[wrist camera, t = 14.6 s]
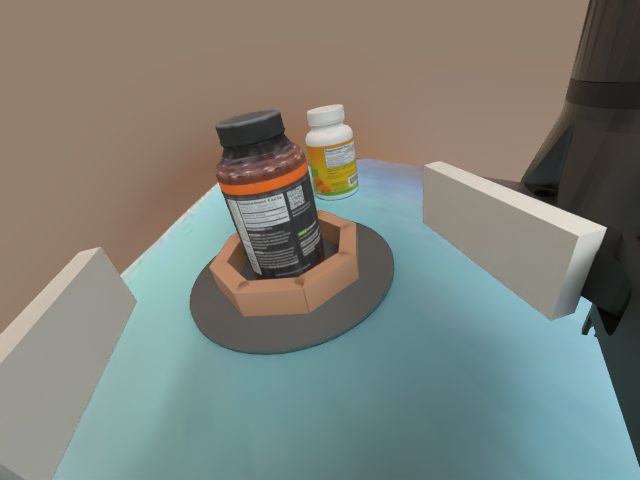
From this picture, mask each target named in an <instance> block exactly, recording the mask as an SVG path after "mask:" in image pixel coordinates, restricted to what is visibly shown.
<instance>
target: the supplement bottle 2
mask: <svg viewBox="0 0 640 480" xmlns="http://www.w3.org/2000/svg"><path fill="white" fill-rule="evenodd" d="M307 117H308V122H309V126H311V128H312V130H311V131H310V132H309V133H308V134H307V136H306V146H307V151H308V156H309V161H310V167H311V172H312V177H313V183H314V188H315V193H316V195H317V196H318V197H319V198H321V199H325V200H338V199H343V198H346V197H348V196H351V195H352V194H354V193H355V192H356V191H357V190H358V177H357V168H356V159H355V150H354V141H353V134H352V130H351V128H350V127H349V126H347V125H344V124H343V120H344V110H343V105H329V106H324V107H319V108H315V109H312V110H310V111H308V112H307Z"/></svg>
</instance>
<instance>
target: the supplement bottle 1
mask: <svg viewBox="0 0 640 480" xmlns="http://www.w3.org/2000/svg"><path fill="white" fill-rule="evenodd" d="M216 130H217V133H218V136H219V139H220V144H221V146H223V148H224V150H223V154H222V158H221V161H220V162H219V163H218V165H217V168H216V177H217V179H218V182H219V185H220V187H221V191H222V194H223V196H224V198H225V201H226V204H227V207H228V209H229V211H230V214H231V217H232V220H233V222H234V225H235V227H236V230H237V233H238V235H239V238H240V241H241V243H242V246H243V248H244V255H245V254H246V256H247V259H248V262H249V264H250V267H251V269H252V271H253V274H254V276H255V277H256V278H257V279H258V280H267V279H281V278H295V277H300V276H301V275H303V274H304V273H306V272H308V271H309V270H311V269H312V268H314V267H316V266H317V265H319V264H321V263H322V262H324V259H325V251H324V244H323V239H322V234H321V230H320V225H319V220H318V215H317V210H316V205H315V201H314V196H313V191H312V186H311V181H310V176H309V171H308V167H307V162H306V159H305V155H304V152H303V150H302V149H301V148H300V147H299V146H298V145H297V144H295V143H292V142H291V141H290V140H289V139H288V138H287V137H286V136H285V135H284V131H285V128H284V126H283V122H282V118H281V114H280V112H279V111H278V110H263V111H258V112H253V113H248V114H243V115H239V116H235V117H232V118H229V119H225V120H223V121H221V122H219V123H217V124H216Z"/></svg>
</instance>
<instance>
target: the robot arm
mask: <svg viewBox="0 0 640 480" xmlns="http://www.w3.org/2000/svg"><path fill="white" fill-rule="evenodd" d="M423 222H424V223H425V224H426V225H427V226H429V227H430V228H431V229H433V230H434V231H435V232H437V233H438V234H439V235H440V236H442V237H443V238H444V239H446V240H447V241H448V242H449V243H451V244H452V245H453V246H455V247H456V248H457V249H458V250H460V251H461V252H462V253H464V254H465V255H466V256H468V257H469V258H470V259H471V260H473V261H474V262H475V263H477V264H478V265H479V266H480V267H482V268H483V269H484V270H486V271H487V272H488V273H490V274H491V275H492V276H493V277H495V278H496V279H497V280H499V281H500V282H501V283H502V284H504V285H505V286H506V287H508V288H509V289H510V290H512V291H513V292H514V293H515V294H517V295H518V296H519V297H521V298H522V299H523V300H524V301H526V302H527V303H528V304H530V305H531V306H532V307H533V308H535V309H536V310H537V311H539V312H540V313H541V314H543V315H544V316H545V317H546V318H548V319H549V320H550V321H552V320H555V319H558V318H561V317H564V316H566V315H569V314H572V313H574V312H575V310H576V307H577V305H578V302H579V299H580V297H581V296H582V297H584V298H586V299H587V300H589V301H590V302H592V306H591V308H590V311H589V313H588V315H587V318H586V320H585V322H584V325H583V327H582V334H583V335H587V334H588V331H589V329H590V328H591V327H593V326H594V329H595V332H596V333H595V335H594V337H597V338H598V341H599V344H600V348H601V351H602V354H603V357H604V360H605V363H606V366H607V369H608V372H609V375H610V378H611V381H612V384H613V387H614V390H615V393H616V396H617V399H618V402H619V406H620V409H621V412H622V415H623V418H624V421H625V424H626V427H627V430H628V433H629V436H630V439H631V442H632V445H633V448H634V451H635V454H636V457H637V461H638V464H639V467H640V0H590V1H589V5H588V9H587V13H586V17H585V21H584V25H583V29H582V33H581V37H580V41H579V45H578V49H577V53H576V57H575V61H574V65H573V69H572V73H571V78H570V83H569V87H568V90H567V94H566V98H565V102H564V106H563V109H562V112H561V114H560V116H559V118H558V119H557V121H556V123H555V124H554V126H553V128H552V129H551V131H550V133H549V135H548V136H547V138H546V139H545V141H544V143H543V144H542V146H541V148H540V149H539V151H538V153H537V154H536V156H535V158H534V159H533V161H532V163H531V164H530V166H529V168H528V169H527V171H526V173H525V174H524V176H523V177H522V180H521V182H520V185H519V190H518V192H516V191H514V190H511V189H509V188H506V187H504V186H501V185H499V184H496V183H494V182H491V181H489V180H486V179H484V178H481V177H479V176H476V175H474V174H471V173H469V172H466V171H463V170H461V169H459V168H456V167H454V166H451V165H449V164H446V163H444V162H441V161H438V162H434V163H431V164H426V165H424V182H423ZM136 302H137V301H136V299H135V298H134V296H133V295H132V293H131V292H130V290H129V289H128V287H127V286H126V284H125V283H124V281H123V280H122V278H121V277H120V275H119V274H118V272H117V270H116V269H115V267H114V266H113V264H112V263H111V261H110V260H109V258H108V257H107V256H106V254H105V252H104V251H103V249H102V248H101V247H98V248H94V249H90V250H86V251H82V252H79V253H78V254H77V255H76V256H75V257H74V258H73V259H72V260H71V261H70V262H69V263H68V264H67V265H66V266H65V267H64V268H63V270H62V271H61V272H60V273H59V274H58V275H57V276H56V277H55V278H54V279H53V280H52V281H51V282H50V283H49V284H48V285H47V286H46V287H45V288H44V290H42V292H41V293H40V294H39V295H38V296H37V297H36V298H35V299H34V300H33V301H32V302H31V303H30V304H29V305H28V306H27V307H26V308H25V309H24V310H23V312H21V314H20V315H19V316H18V317H17V318H16V319H15V320H14V321H13V322H12V323H11V324H10V325H9V326H8V327H7V328H6V329H5V330H4V331H3V332H2V333H1V334H0V480H52V478H53V476H54V474H55V472H56V470H57V468H58V465H59V463H60V461H61V459H62V457H63V455H64V453H65V451H66V449H67V447H68V445H69V442H70V440H71V438H72V436H73V434H74V432H75V430H76V428H77V426H78V424H79V422H80V419H81V417H82V415H83V413H84V411H85V409H86V407H87V405H88V403H89V401H90V399H91V396H92V394H93V392H94V390H95V388H96V386H97V384H98V382H99V380H100V378H101V376H102V373H103V371H104V369H105V367H106V365H107V363H108V361H109V359H110V357H111V355H112V353H113V350H114V348H115V346H116V344H117V342H118V340H119V338H120V336H121V334H122V332H123V330H124V327H125V325H126V323H127V321H128V319H129V317H130V315H131V313H132V311H133V309H134V307H135V304H136Z"/></svg>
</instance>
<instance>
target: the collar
mask: <svg viewBox="0 0 640 480" xmlns="http://www.w3.org/2000/svg"><path fill="white" fill-rule="evenodd" d="M317 215H318V220H319V225H320V230H321V234H322V238H323V239H325V240H327V241H329V242H331V243H333V244H336V245H338V246H339V252H338V253H337V254H335V255H333V256H332V257H330V258H329V259H327V260H325V261H324V262H322V263H321V264H319V265H317V266H316V267H314V268H312V269H311V270H309V271H308V272H306V273H304V274H303V275H301V276H300V277H295V278H281V279H267V280H253V281H247V280H246V279H245V278H244V277H242V276H241V275H240V273H241V271H242V269H243V267H244V265H245V263H246V261H247V260H248V259H247V256H246V254H245V255H244V248H243V246H242V243H241V241H240V238H239V235H238V233H236V234H234V235H232V236H231V237H230V238H229V239H228V241H227V242H226V244H225V245H224V247H223V248H222V249H221V251H220V252H219V254H218V255H217V256H216V258H215V259H214V261H213V262H212V264H211V265H210V266H209V268H210V270H211V272H212V274H213V276H214V279H215V281H216V283H217V285H218V287H219V289H220V290H221V291H222V292H223V293H224V295H225V296H226V297H227V298H228V299H229V300H230V302H231V303H232V304H233V305H234V306H235V307H236V308H237V310H238V311H239V312H240V313H241V314H242V315H243V316H265V315H286V314H307V313H311V312H312V311H313V310H315V309H316V308H318V307H319V306H320V305H322V304H323V303H325V302H326V301H327V300H329V299H330V298H332V297H333V296H334V295H336V294H337V293H339V292H340V291H342V290H343V289H344V288H346V287H347V286H349V285H350V284H351V283H353V282H354V281H356V280H357V279H358V278H359V254H358V237H357V229H356V223H354V222H351V221H349V220H346V219H343V218H341V217H338V216H335V215H333V214H330V213H327V212H325V211H322V210H317Z"/></svg>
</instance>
